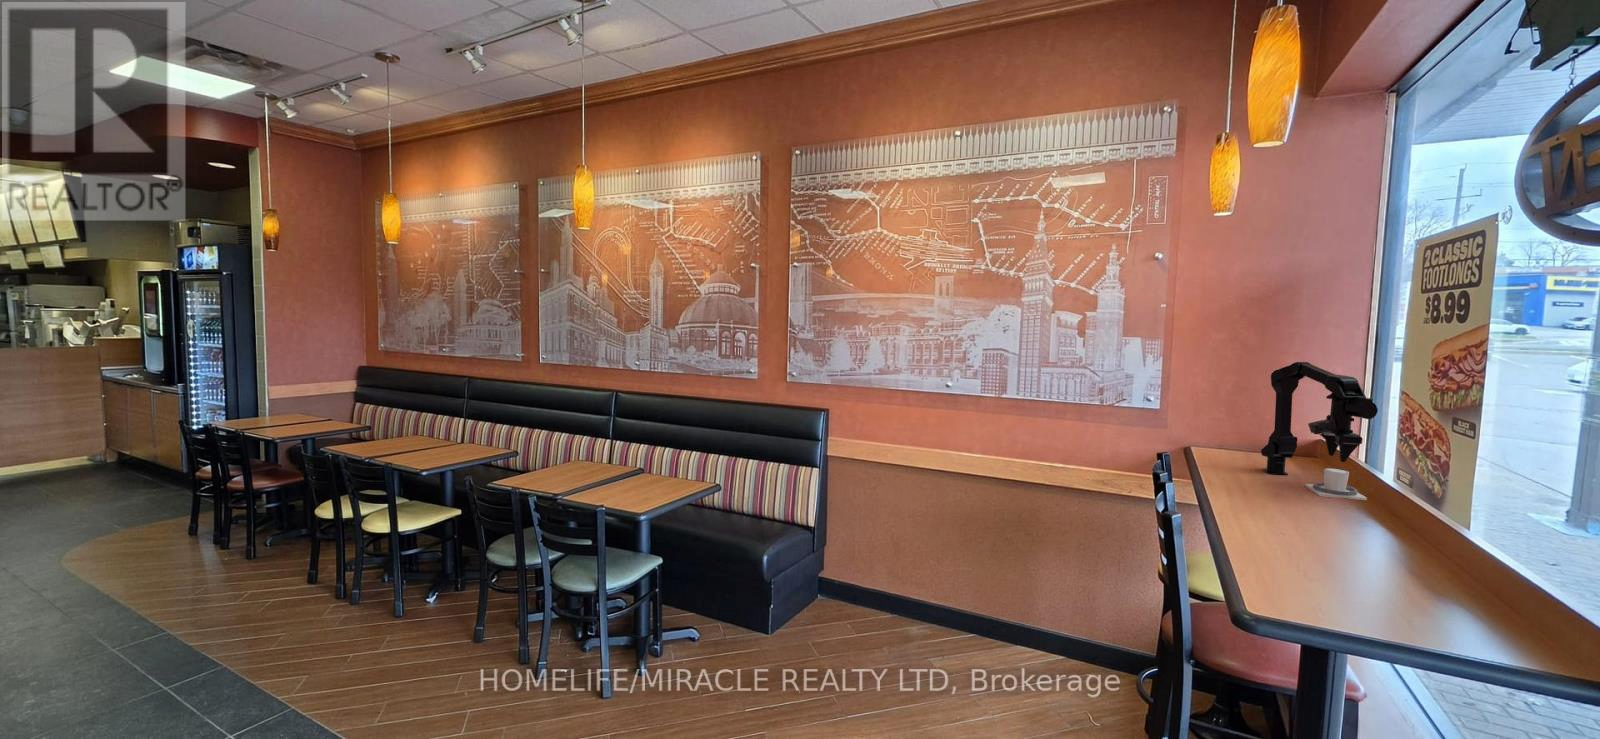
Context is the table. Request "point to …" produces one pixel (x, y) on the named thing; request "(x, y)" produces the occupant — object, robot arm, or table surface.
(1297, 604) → the table surface
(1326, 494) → the coaster
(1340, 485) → the white cup
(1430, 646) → the table surface
